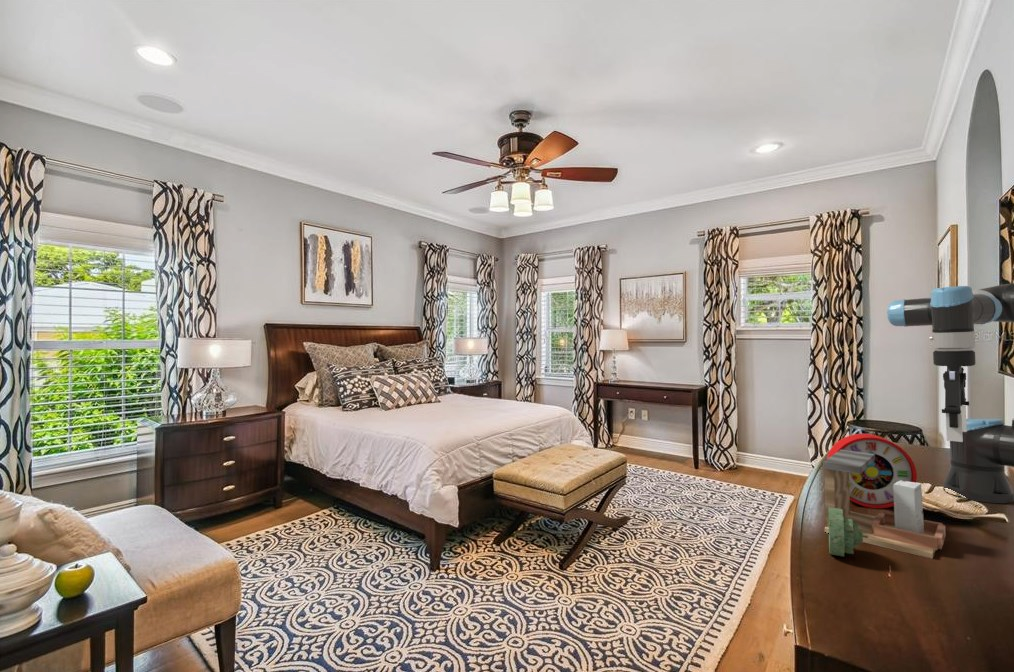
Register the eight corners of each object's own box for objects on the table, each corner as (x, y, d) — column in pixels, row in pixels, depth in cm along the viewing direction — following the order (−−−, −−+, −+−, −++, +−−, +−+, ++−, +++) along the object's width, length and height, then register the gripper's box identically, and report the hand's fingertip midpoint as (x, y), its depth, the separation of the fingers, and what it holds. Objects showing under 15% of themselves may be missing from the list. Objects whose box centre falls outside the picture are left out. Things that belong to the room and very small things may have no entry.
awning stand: (841, 513, 130) (840, 449, 130) (947, 536, 114) (945, 463, 115) (824, 532, 118) (823, 461, 118) (939, 560, 102) (938, 478, 102)
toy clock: (831, 504, 138) (830, 435, 138) (826, 497, 143) (825, 431, 143) (918, 512, 130) (916, 439, 130) (909, 505, 136) (907, 435, 136)
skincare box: (917, 541, 109) (916, 488, 109) (893, 535, 113) (892, 484, 113) (924, 534, 113) (923, 483, 113) (901, 528, 116) (899, 479, 117)
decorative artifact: (828, 544, 111) (828, 501, 111) (866, 551, 107) (865, 507, 107) (830, 561, 103) (829, 515, 103) (870, 569, 99) (869, 521, 99)
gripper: (938, 347, 127) (941, 425, 127) (926, 352, 110) (930, 443, 110) (977, 346, 122) (981, 429, 122) (971, 352, 105) (975, 447, 105)
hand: (957, 436), depth 116 cm, fingers open, 13 cm apart
